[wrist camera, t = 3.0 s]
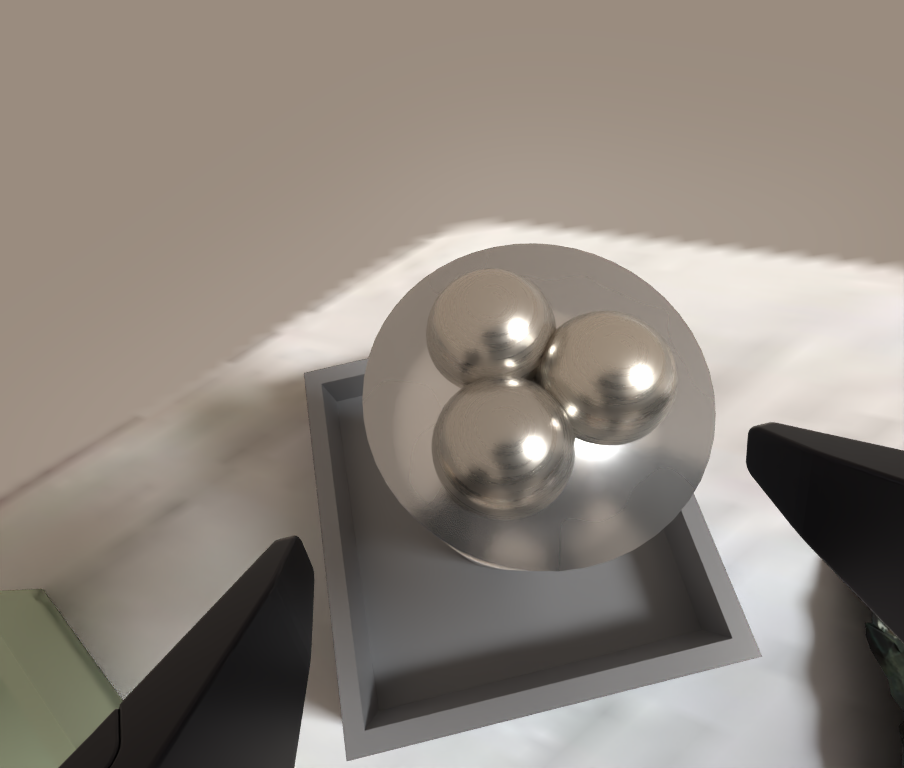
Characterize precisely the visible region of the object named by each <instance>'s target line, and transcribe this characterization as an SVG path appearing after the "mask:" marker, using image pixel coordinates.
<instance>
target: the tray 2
mask: <svg viewBox="0 0 904 768" xmlns="http://www.w3.org/2000/svg"><path fill="white" fill-rule="evenodd" d="M367 362H368V359H364V360H359V361H355V362H350V363H346V364H342V365H337V366H333V367H328V368H324V369H320V370H315V371H311V372H306V373H304V378H305V387H306V396H307V405H308V414H309V423H310V433H311V442H312V451H313V460H314V469H315V478H316V487H317V496H318V505H319V514H320V523H321V533H322V542H323V551H324V560H325V569H326V578H327V587H328V596H329V605H330V614H331V623H332V633H333V642H334V651H335V660H336V669H337V678H338V687H339V696H340V705H341V714H342V723H343V733H344V742H345V751H346V760H347V761H350V760H354V759H358V758H362V757H366V756H370V755H374V754H378V753H382V752H386V751H390V750H393V749H397V748H401V747H405V746H409V745H413V744H417V743H421V742H425V741H429V740H433V739H437V738H441V737H445V736H449V735H453V734H457V733H461V732H465V731H469V730H473V729H477V728H481V727H485V726H489V725H492V724H496V723H500V722H504V721H508V720H512V719H516V718H520V717H524V716H528V715H532V714H536V713H540V712H544V711H548V710H552V709H556V708H560V707H564V706H568V705H572V704H576V703H580V702H584V701H588V700H591V699H595V698H599V697H603V696H607V695H611V694H615V693H619V692H623V691H627V690H631V689H635V688H639V687H643V686H647V685H651V684H655V683H659V682H663V681H667V680H671V679H675V678H679V677H683V676H687V675H690V674H694V673H698V672H702V671H706V670H710V669H714V668H718V667H722V666H726V665H730V664H734V663H738V662H742V661H746V660H750V659H754V658H758V657H762V656H761V653H760V651H759V648H758V646H757V644H756V641H755V639H754V636H753V634H752V632H751V629H750V627H749V624H748V622H747V620H746V617H745V615H744V612H743V610H742V608H741V605H740V603H739V601H738V598H737V596H736V593H735V591H734V589H733V586H732V584H731V581H730V579H729V577H728V574H727V572H726V569H725V567H724V565H723V562H722V560H721V557H720V555H719V553H718V550H717V548H716V546H715V543H714V541H713V538H712V536H711V534H710V531H709V529H708V526H707V524H706V522H705V519H704V517H703V514H702V512H701V510H700V507H699V505H698V502H697V500H696V498H695V495H694V493H693V495H692V496H691V498H690V500H689V501H688V502H687V504H686V505H685V506H684V507H683V509H682V510H681V511H680V512H679V513H678V515H677V516H676V517H675V518H674V520H672V521H671V522H670V523H669V524H668V525H667V526H666V527H665V528H664V529H662V530H661V531H660V532H659V533H658V534H657V535H656V536H654V537H653V538H651V539H650V540H648V541H647V542H645V543H644V544H642V545H641V546H639V547H638V548H636V549H635V550H633V551H630V552H628V553H626V554H624V555H622V556H619V557H617V558H615V559H613V560H610V561H607V562H604V563H600V564H597V565H593V566H590V567H586V568H580V569H572V570H565V571H520V570H500V569H491V568H487V567H483V566H480V565H478V564H476V563H473V562H472V561H470V560H468V559H467V558H465V557H464V556H462V555H461V554H460V553H458V552H457V551H456V550H454V549H453V548H451V547H450V546H449V545H447V544H446V543H444V542H443V541H442V540H440V539H439V538H438V537H436V536H435V535H434V534H432V533H431V532H430V531H429V530H428V529H426V528H425V527H424V526H423V525H421V524H420V523H419V522H418V521H417V520H416V519H415V518H414V517H413V516H412V515H411V514H410V513H409V512H408V511H407V510H406V509H405V508H404V507H403V505H402V504H401V503H400V502H399V501H398V499H397V498H396V496H395V495H394V494H393V492H392V491H391V489H390V488H389V487H388V485H387V484H386V482H385V480H384V478H383V476H382V474H381V472H380V470H379V468H378V467H377V465H376V463H375V460H374V457H373V454H372V451H371V449H370V446H369V443H368V439H367V434H366V429H365V424H364V418H363V401H362V396H363V384H364V375H365V371H366V366H367Z"/></svg>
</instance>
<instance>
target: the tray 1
mask: <svg viewBox="0 0 904 768" xmlns="http://www.w3.org/2000/svg"><path fill="white" fill-rule="evenodd" d="M121 702H122V699H121V698H120V696H119V695H118V694H117V692H116V691H115V690H114V688H113V687H112V685H111V684H110V683H109V681H108V680H107V678H106V677H105V676H104V674H103V673H102V671H101V670H100V669H99V667H98V666H97V664H96V663H95V662H94V660H93V659H92V658H91V656H90V655H89V653H88V652H87V651H86V649H85V648H84V646H83V645H82V644H81V642H80V641H79V639H78V638H77V637H76V635H75V634H74V633H73V631H72V630H71V628H70V627H69V626H68V624H67V623H66V621H65V620H64V619H63V617H62V616H61V614H60V613H59V612H58V610H57V609H56V608H55V606H54V605H53V603H52V602H51V601H50V599H49V598H48V596H47V595H46V594H45V592H44V591H43V589H28V590H6V591H0V768H58V767H59V766H60V765H61V764H62V763H63V762H64V761H65V760H66V759H67V758H68V757H69V756H70V755H71V754H72V753H73V752H74V751H75V750H76V749H77V748H78V747H79V746H80V745H81V744H82V743H83V742H84V741H85V740H86V739H87V738H88V737H89V736H90V735H91V734H92V733H93V732H94V731H95V729H96V728H97V727H98V726H99V725H100V724H101V723H102V722H103V721H104V720H105V719H106V718H107V717H108V716H109V715H110V714H111V713H112V712H113V710H115V709H117V708H119V707H120V704H121Z"/></svg>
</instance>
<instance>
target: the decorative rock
mask: <svg viewBox="0 0 904 768" xmlns="http://www.w3.org/2000/svg"><path fill="white" fill-rule="evenodd" d="M865 628H866V637H867V640H868V643H869V646H870V649H871V651H872V653H873V654H874V656H875V658H876V659H877V661H878V663H879V665H880V666H881V668H882V670H883V672H884V673H885V675H886V677H887V678H888V681H889V685H890V691H891V696H892V697H893V698H894V700H895V701H896V702H897V704H898V705H899V706H900V708H901V709H902V710H903V711H904V643H903V642H902V641H901V640H900V639H899V638H898V637H897V636H896V635H895V634H894V633H893V632H892V631H891V630H890V629H889V628H888V627H887V626H886V625H885V624H884V623H883V622H882V621H881V620H880V619H879V618H878V616H877V615H876V614H875V613H874V612H873V611H872V623H865ZM899 729H900V734H901V739H902V744H903V752H902V762H903V767H904V721H903V722H902V724H901V725H900V726H899Z"/></svg>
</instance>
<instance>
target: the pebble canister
mask: <svg viewBox="0 0 904 768" xmlns="http://www.w3.org/2000/svg"><path fill="white" fill-rule="evenodd" d="M362 401H363V418H364V424H365V429H366V434H367V439H368V443H369V446H370V449H371V451H372V454H373V457H374V460H375V463H376V465H377V467H378V468H379V470H380V472H381V474H382V476H383V478H384V480H385V482H386V484H387V485H388V487H389V488H390V489H391V491H392V492H393V494H394V495H395V496H396V498H397V499H398V501H399V502H400V503H401V504H402V505H403V507H404V508H405V509H406V510H407V511H408V512H409V513H410V514H411V515H412V516H413V517H414V518H415V519H416V520H417V521H418V522H419V523H420V524H421V525H423V526H424V527H425V528H426V529H428V530H429V531H430V532H431V533H432V534H434V535H435V536H436V537H438V538H439V539H440V540H442V541H443V542H444V543H446V544H447V545H449V546H450V547H451V548H453V549H454V550H456V551H457V552H458V553H460V554H461V555H462V556H464V557H465V558H467V559H468V560H470V561H472V562H473V563H476V564H478V565H480V566H483V567H487V568H491V569H500V570H520V571H565V570H572V569H580V568H586V567H590V566H593V565H597V564H600V563H604V562H607V561H610V560H613V559H615V558H617V557H619V556H622V555H624V554H626V553H628V552H630V551H633V550H635V549H636V548H638V547H639V546H641V545H642V544H644V543H645V542H647V541H648V540H650V539H651V538H653V537H654V536H656V535H657V534H658V533H659V532H660V531H661V530H662V529H664V528H665V527H666V526H667V525H668V524H669V523H670V522H671V521H672V520H674V518H675V517H676V516H677V515H678V513H679V512H680V511H681V510H682V509H683V507H684V506H685V505H686V504H687V502H688V501H689V500H690V498H691V496H692V495H693V493H694V491H695V489H696V488H697V486H698V484H699V483H700V481H701V478H702V476H703V473H704V471H705V468H706V466H707V463H708V461H709V457H710V453H711V448H712V444H713V439H714V431H715V416H716V413H715V400H714V390H713V386H712V381H711V377H710V372H709V369H708V366H707V364H706V361H705V358H704V356H703V353H702V350H701V348H700V347H699V345H698V343H697V341H696V339H695V337H694V335H693V333H692V331H691V330H690V329H689V327H688V326H687V324H686V323H685V321H684V320H683V319H682V317H681V316H680V314H679V313H678V312H677V311H676V310H675V309H674V308H673V306H672V305H671V304H670V303H669V302H668V301H667V300H666V299H665V298H664V297H663V296H662V295H661V294H660V293H659V292H657V291H656V290H655V289H654V288H653V287H652V286H651V285H649V284H648V283H647V282H645V281H644V280H642V279H641V278H640V277H638V276H637V275H635V274H634V273H632V272H631V271H629V270H627V269H625V268H623V267H621V266H620V265H618V264H616V263H614V262H612V261H609V260H607V259H605V258H602V257H600V256H597V255H595V254H592V253H588V252H585V251H581V250H578V249H574V248H569V247H563V246H557V245H548V244H512V245H505V246H498V247H493V248H489V249H485V250H481V251H477V252H474V253H471V254H469V255H466V256H463V257H461V258H458V259H456V260H454V261H452V262H450V263H448V264H446V265H444V266H442V267H440V268H439V269H437V270H436V271H434V272H433V273H431V274H430V275H428V276H427V277H425V278H424V279H422V280H421V281H420V282H419V283H418V284H417V285H415V286H414V287H413V288H412V289H411V290H410V291H409V292H408V293H407V294H406V295H405V296H404V297H403V298H402V299H401V300H400V301H399V303H398V304H397V305H396V306H395V307H394V309H393V310H392V312H391V313H390V314H389V316H388V317H387V319H386V320H385V321H384V323H383V325H382V327H381V329H380V331H379V333H378V335H377V337H376V339H375V341H374V344H373V347H372V349H371V352H370V355H369V357H368V362H367V366H366V371H365V375H364V384H363V396H362Z"/></svg>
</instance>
